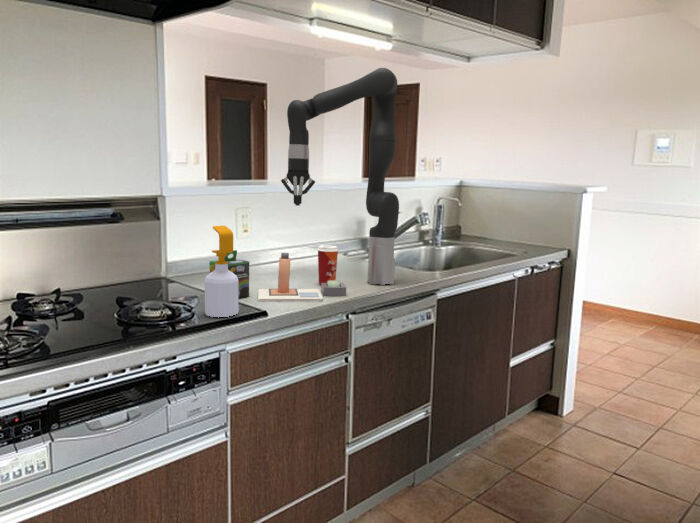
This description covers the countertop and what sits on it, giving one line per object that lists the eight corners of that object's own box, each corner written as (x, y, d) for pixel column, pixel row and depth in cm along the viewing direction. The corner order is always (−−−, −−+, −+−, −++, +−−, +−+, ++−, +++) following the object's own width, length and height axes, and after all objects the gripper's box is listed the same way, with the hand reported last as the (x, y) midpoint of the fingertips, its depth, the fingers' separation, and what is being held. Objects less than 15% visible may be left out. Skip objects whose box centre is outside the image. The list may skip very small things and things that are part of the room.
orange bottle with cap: (289, 290, 187) (290, 252, 185) (288, 293, 184) (290, 254, 181) (277, 289, 187) (279, 252, 185) (277, 292, 183) (279, 254, 181)
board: (318, 291, 192) (318, 288, 192) (323, 301, 178) (323, 297, 178) (258, 291, 189) (258, 288, 189) (258, 301, 175) (258, 298, 175)
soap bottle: (227, 308, 165) (227, 224, 161) (244, 315, 159) (244, 227, 155) (199, 313, 160) (198, 225, 156) (214, 320, 153) (214, 228, 149)
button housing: (342, 291, 193) (343, 282, 193) (346, 296, 186) (346, 287, 185) (321, 291, 192) (321, 282, 191) (323, 296, 185) (323, 287, 184)
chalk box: (231, 292, 187) (231, 247, 185) (250, 296, 181) (250, 250, 179) (208, 296, 180) (208, 249, 178) (227, 301, 174) (227, 253, 172)
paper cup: (333, 288, 198) (334, 248, 195) (312, 286, 200) (313, 246, 198) (341, 284, 205) (342, 245, 203) (321, 282, 207) (322, 244, 205)
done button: (338, 292, 191) (338, 280, 190) (340, 294, 187) (340, 282, 187) (326, 292, 190) (327, 280, 190) (328, 294, 187) (328, 282, 186)
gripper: (280, 156, 202) (279, 205, 205) (317, 158, 205) (316, 206, 207) (279, 157, 210) (279, 204, 213) (315, 158, 212) (314, 205, 215)
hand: (297, 205), depth 210 cm, fingers closed
